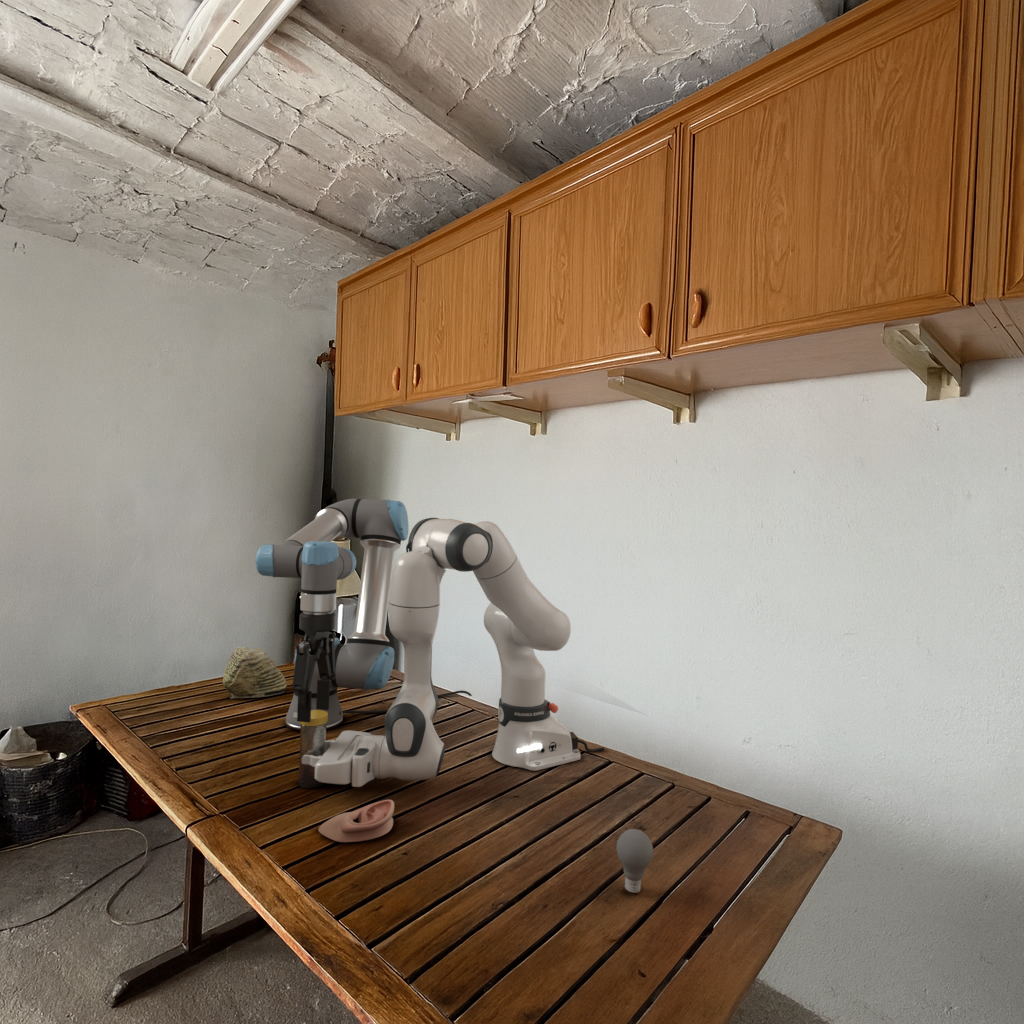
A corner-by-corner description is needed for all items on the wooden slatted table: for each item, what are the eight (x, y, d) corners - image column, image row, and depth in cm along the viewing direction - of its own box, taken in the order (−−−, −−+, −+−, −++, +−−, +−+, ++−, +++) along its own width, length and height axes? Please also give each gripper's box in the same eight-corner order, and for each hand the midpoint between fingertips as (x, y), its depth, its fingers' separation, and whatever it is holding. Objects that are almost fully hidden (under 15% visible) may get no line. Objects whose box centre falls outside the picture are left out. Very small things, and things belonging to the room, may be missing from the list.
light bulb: (610, 879, 108) (613, 822, 108) (644, 879, 109) (647, 822, 109) (619, 902, 102) (622, 840, 102) (655, 901, 103) (658, 840, 103)
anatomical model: (310, 816, 117) (339, 789, 129) (309, 837, 117) (338, 808, 129) (377, 827, 115) (401, 798, 126) (376, 848, 115) (400, 818, 126)
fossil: (218, 695, 195) (220, 647, 195) (278, 685, 208) (279, 640, 207) (228, 703, 189) (230, 653, 188) (289, 692, 201) (290, 645, 201)
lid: (308, 715, 143) (308, 708, 143) (332, 718, 142) (333, 711, 142) (294, 724, 137) (294, 717, 137) (319, 727, 136) (320, 720, 136)
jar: (306, 776, 143) (308, 711, 143) (328, 779, 142) (331, 713, 142) (293, 786, 138) (296, 719, 138) (316, 789, 137) (319, 721, 137)
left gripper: (323, 603, 150) (319, 699, 150) (276, 618, 130) (272, 729, 130) (353, 606, 149) (349, 702, 149) (310, 620, 128) (306, 732, 129)
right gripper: (382, 725, 150) (324, 721, 150) (358, 760, 129) (291, 756, 130) (381, 751, 150) (323, 748, 150) (357, 791, 129) (290, 787, 130)
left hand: (313, 714), depth 139 cm, fingers open, 8 cm apart
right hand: (308, 752), depth 140 cm, fingers closed on jar, 5 cm apart
